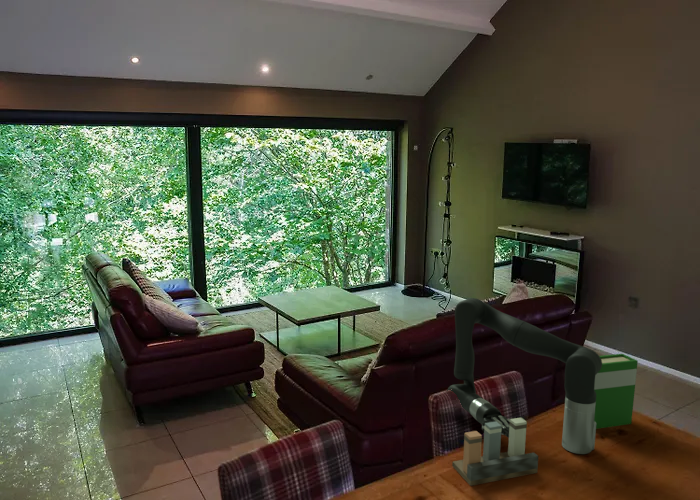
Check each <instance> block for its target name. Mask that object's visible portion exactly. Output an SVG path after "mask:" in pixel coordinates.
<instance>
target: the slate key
mask: <svg viewBox="0 0 700 500" xmlns="http://www.w3.org/2000/svg"><path fill="white" fill-rule="evenodd" d="M501 427H502V426H501V425H500V424H499V423H497V422H489V423H485V426H484V431H483V449H482V451H483V453H482V456H483V460H484V461H490V460H495V459H500V453H501V441H502V440H501V439H502V434H501V431H502V428H501Z"/></svg>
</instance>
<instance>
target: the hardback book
mask: <svg viewBox="0 0 700 500" xmlns="http://www.w3.org/2000/svg"><path fill="white" fill-rule="evenodd" d="M599 356H600V358H601V360H602V367H601V369H600V371H599V372H598V373H597V374H596V375H595V387H594V391H595V392H596V406H595V418H594V421H595V422H596V430H598V429H599V430H600V429H603V428H612V427H618V426H619V427H620V426H625V425H626V426H627V425H632V419H633V413H634V411H633V410H634V402H635V400H634V399H635V392H636V381H637V373H638V372H637V370H638V362H639V361H638V360H637V359H635V358H633V357H631V356H629V355H626V354H624V353H614V354H607V355H606V354H605V355H599Z"/></svg>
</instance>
